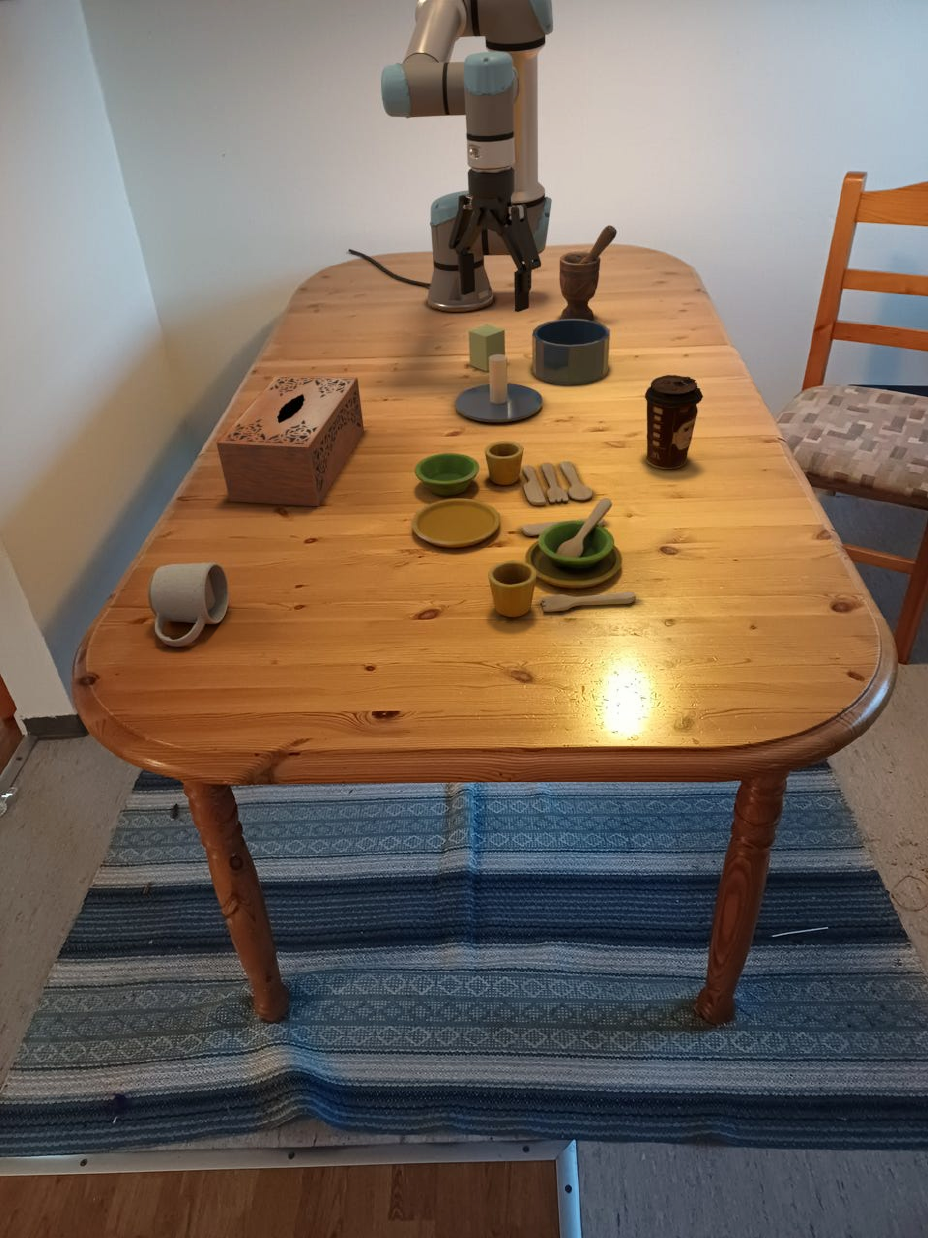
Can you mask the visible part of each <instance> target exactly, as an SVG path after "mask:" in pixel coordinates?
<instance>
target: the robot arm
mask: <svg viewBox="0 0 928 1238" xmlns="http://www.w3.org/2000/svg"><path fill="white" fill-rule="evenodd" d="M552 2H553V1H552V0H417V2H416V5H415V9H414V21H415V27H414V28H413V31H412V35H411V37H410V41H409V43H408V46H407V49H406V53H405V55H404V58H403V61H402V63H401V62H396V63H393V64H387V65H385V66H384V67H383V69H382V71H381V74H380V76H381V77H380V90H381V91H380V93H381V101H382V106H383V109H384V112H385V114H386V115H387V116H389V117H390V118H391V117H392V118H405V119H410V118H429V117H449V116H451V117H452V116H453V117H456V116H457V117H458V116H465V125H466V126H465V128H466V137H465V139H466V160H467V162H466V163H467V166H468V167H469V169H468V171H467V187H468V189H467V190H460V191H455V192H452V193H451V192H450V193H447V194H445V195H442V196H440V197H437V198H436V199H435V200H434V201H433V202H432V203H431V205H430V222H429V226H430V230H431V231H430V232H431V247H432V263H433V271H432V275H431V281H430V283H429V282H424V281H418V280H413V279H410V278H406V277H403V276H400V275H398V274H396V273H394V272H392V271H390V270H389V269H387V268H386V267H384V266H383V265H382V264H381V263H379V262H377V261H376V260H375V259H374V258H372V257H371V256H369V255H367V254H364V253H362V252H361V251H358V250H354V249H351V248H349V249H348V250H347V251H348V252H349V253H351V254H354V255H357V256H360V257H362V258H364V259H366V260H368V261H369V262H371V263H373V264H374V265H375V266H377V267H378V268H379V269H380V270H381V271H383V272H384V273H386V274H388V275H389V276H391V277H393V278H395V279H397V280H400V281H402V282H405V283H408V284H412V285H415V286H416V285H417V286H421V287H427V288H429V289H428V293H427V304H428V306H429V307H430V308H431V309H434V310H437V311H441V312H448V313H465V312H473V311H478V310H481V309H483V308H486V307H488V306H490V305H491V304H493V302H494V291H493V288H492V286H491V283H490V279H489V276H488V273H487V271H486V267H485V257H486V256H489V257H490V256H510V258H511V260H512V261H513V263H514V265H515V267H516V269H517V270H516V271H514V272H513V277H514V279H513V281H514V282H513V283H514V284H513V285H514V286H513V287H514V289H513V291H514V312H515V313H521V312H523V311H526V310H529V309H530V291H531V290H532V271H535V270H536V269H539V268H541V267H542V262H541V257H540V255H541V254H542V253H544V251H545V250H546V246H547V240H548V231H549V224H550V218H551V211H552V209H551V208H552V203H553V202H552V201H553V199H552V198H551V197H549V196H546V189H545V186H544V185H542V183H540V181H539V132H538V131H539V97H538V96H539V92H538V91H539V86H538V80H539V77H538V76H539V75H538V74H539V73H538V72H539V69H538V67H539V65H538V63H539V62H538V61H539V59H538V57H539V54H540V52H541V51H542V49H543V48H544V47H545V46H546V36H548V35H550V34H552V32H553V31H554V18H553V3H552ZM471 37H475V38H478V37H479V38H481V37H484V39H485V50H487V51H484V52H483V51H482V52H476V53H471V54H468V55H467V56H466V57H465V59H464V61H453V62H451V58H452V55H453V52H454V48H455V45H456V42H457V41H458V40H459V39H460V38H471Z"/></svg>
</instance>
